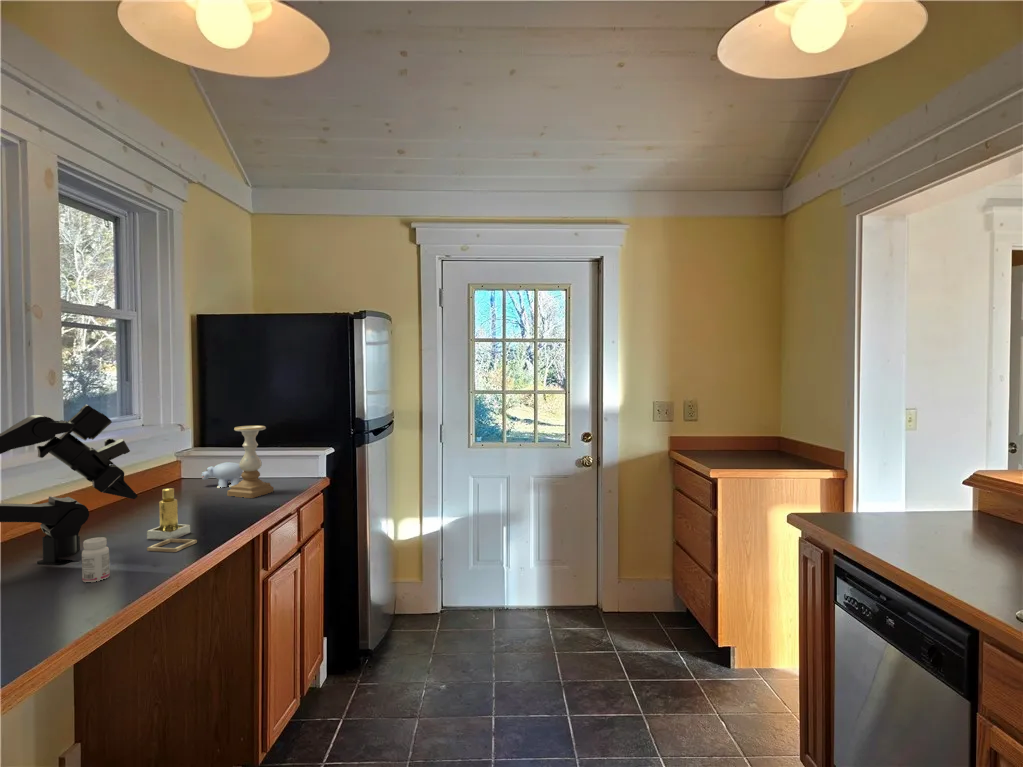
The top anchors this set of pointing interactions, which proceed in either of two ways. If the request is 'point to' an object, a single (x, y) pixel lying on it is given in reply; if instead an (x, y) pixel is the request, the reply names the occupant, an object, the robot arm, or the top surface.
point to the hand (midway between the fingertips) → (132, 494)
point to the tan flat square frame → (158, 548)
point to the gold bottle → (168, 511)
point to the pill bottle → (95, 560)
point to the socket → (168, 533)
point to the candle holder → (250, 467)
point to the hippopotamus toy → (224, 473)
